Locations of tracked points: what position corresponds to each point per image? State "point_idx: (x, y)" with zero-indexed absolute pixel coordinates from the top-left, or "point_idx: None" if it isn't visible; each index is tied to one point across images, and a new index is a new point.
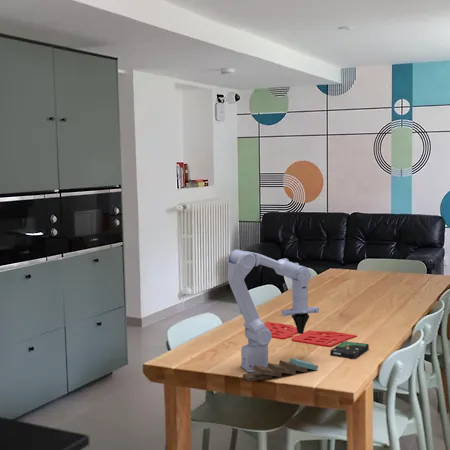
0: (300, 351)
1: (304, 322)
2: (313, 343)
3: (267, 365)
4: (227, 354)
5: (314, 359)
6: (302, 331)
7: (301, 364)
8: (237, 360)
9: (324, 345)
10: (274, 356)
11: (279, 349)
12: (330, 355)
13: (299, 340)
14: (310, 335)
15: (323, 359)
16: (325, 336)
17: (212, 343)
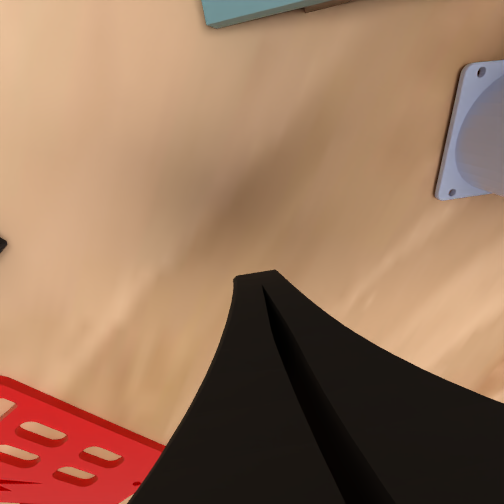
0: (179, 335)
1: (251, 385)
2: (83, 416)
3: (497, 88)
4: (480, 342)
5: (135, 192)
6: (251, 285)
7: None
8: (499, 269)
9: (25, 390)
10: (330, 289)
11: None
12: (6, 242)
13: (144, 448)
14: (77, 494)
15: (71, 176)
16: (2, 486)
17: None
